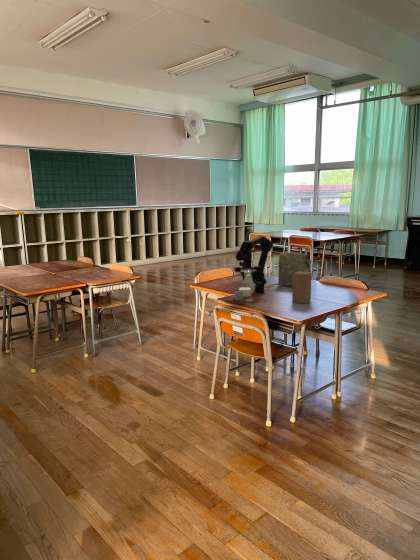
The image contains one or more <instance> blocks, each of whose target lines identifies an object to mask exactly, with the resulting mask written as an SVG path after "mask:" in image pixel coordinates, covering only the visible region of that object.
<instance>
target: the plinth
mask: <svg viewBox="0 0 420 560" xmlns="http://www.w3.org/2000/svg"><path fill="white" fill-rule="evenodd" d="M238 291H242V292H243V297H252V289H251V287H248V286H247V287H238Z"/></svg>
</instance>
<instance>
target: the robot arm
mask: <svg viewBox="0 0 420 560" xmlns="http://www.w3.org/2000/svg"><path fill="white" fill-rule="evenodd" d="M257 245H260V246H259V247H260V255H259V256H260V257H259V260H258V264H257V265H253V266H252V262H253V260H252V259H253V258H252V255H253V254H252V253H254V251H253V249H254V248H255V246H257ZM272 248H273V242H272V241H271V240H270V239H269V238H267V237H266V236H265V235H259V236H257V237H255V238H253V239H251V240H243V242H242V243H241V245H240V248H239V250H238V251H237V252H236V254H235V259H236V260H237V262H238V266H234V267H233V271H234V272H235V273H239V274H240V275H241V279H242V280H243V281H244V275H245V271H250V275H251V276H252V284H254V286H253V288H254V290H253V291H254V292H255V293H258V294H259V293H266V292H265V285H266V284H267V279H266V278H265V271H264V270H265V265H266V263H267V259H268V255H269V252H271V250H272Z"/></svg>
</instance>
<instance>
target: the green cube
mask: <svg viewBox="0 0 420 560" xmlns="http://www.w3.org/2000/svg"><path fill="white" fill-rule="evenodd" d="M243 283H244V284H251V283H252V284H253V280H252V276H251V274H244V281H243Z"/></svg>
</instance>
